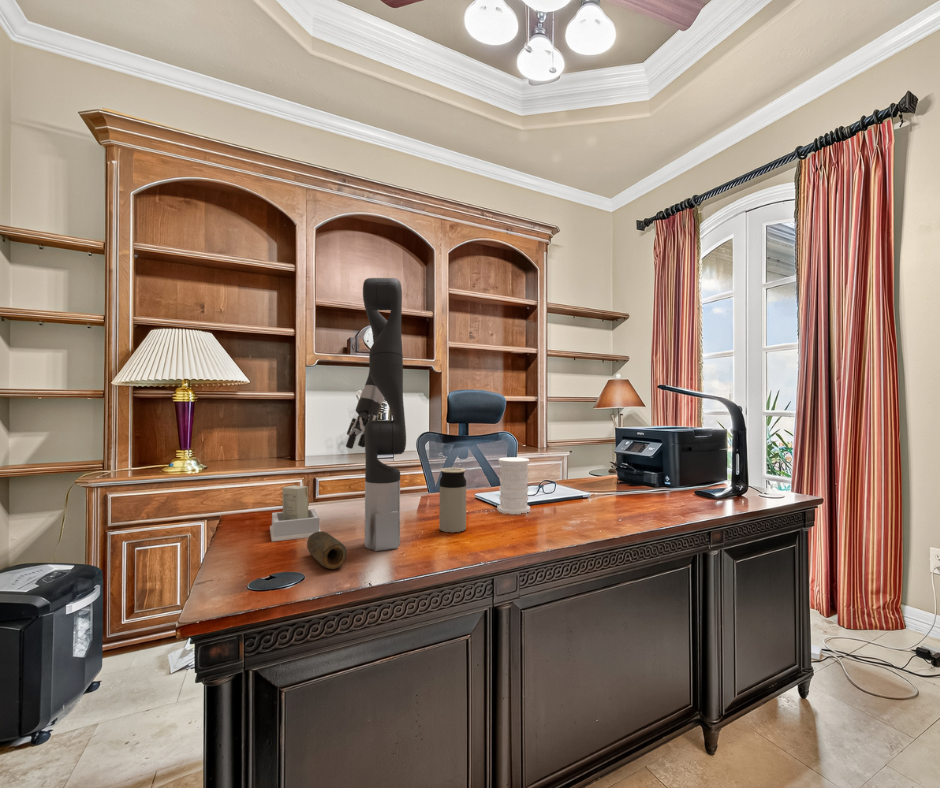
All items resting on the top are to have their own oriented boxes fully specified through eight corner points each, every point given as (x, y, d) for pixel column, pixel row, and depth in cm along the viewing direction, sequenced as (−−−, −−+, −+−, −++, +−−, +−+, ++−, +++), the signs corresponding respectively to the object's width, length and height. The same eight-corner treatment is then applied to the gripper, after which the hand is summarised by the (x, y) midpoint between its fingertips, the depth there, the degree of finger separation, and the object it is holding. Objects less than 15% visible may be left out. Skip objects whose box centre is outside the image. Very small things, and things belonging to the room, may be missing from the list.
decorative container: (509, 516, 155) (509, 462, 155) (491, 508, 165) (491, 458, 165) (537, 512, 161) (537, 460, 161) (517, 505, 171) (517, 456, 171)
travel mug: (462, 534, 134) (463, 471, 134) (436, 532, 136) (436, 470, 136) (468, 526, 142) (468, 467, 142) (443, 525, 144) (443, 466, 144)
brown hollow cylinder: (352, 568, 107) (353, 539, 107) (322, 575, 103) (323, 544, 103) (329, 551, 119) (329, 525, 119) (301, 556, 115) (301, 529, 115)
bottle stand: (321, 535, 132) (321, 518, 132) (271, 541, 126) (272, 523, 126) (315, 524, 143) (315, 508, 144) (269, 529, 138) (270, 512, 138)
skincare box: (309, 528, 136) (309, 486, 136) (297, 531, 132) (297, 488, 132) (293, 525, 139) (293, 484, 139) (281, 529, 135) (281, 486, 135)
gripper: (351, 399, 158) (334, 444, 152) (371, 393, 147) (354, 441, 141) (369, 408, 162) (354, 452, 156) (390, 403, 151) (375, 450, 145)
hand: (354, 447), depth 149 cm, fingers open, 8 cm apart
